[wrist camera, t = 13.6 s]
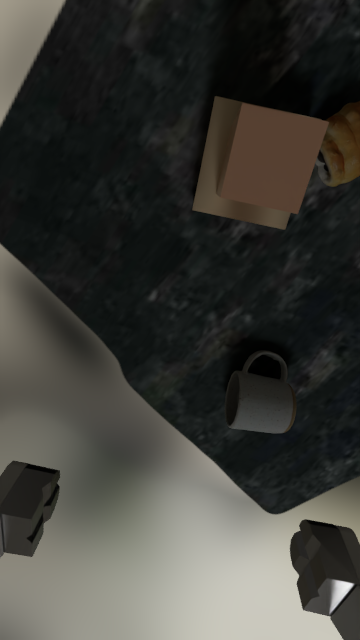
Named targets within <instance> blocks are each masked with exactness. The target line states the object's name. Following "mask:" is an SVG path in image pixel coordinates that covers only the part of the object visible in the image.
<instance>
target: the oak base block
mask: <svg viewBox="0 0 360 640" xmlns="http://www.w3.org/2000/svg"><path fill="white" fill-rule="evenodd" d="M242 103H245V102H240V101H235V100H231V99H226V98H222V97H217V96H215V99H214V104H213V109H212V114H211V119H210V124H209V129H208V134H207V139H206V144H205V149H204V154H203V159H202V164H201V169H200V174H199V179H198V184H197V189H196V194H195V199H194V204H193V209H192V210H195V211H200V212H204V213H209V214H214V215H219V216H223V217H228V218H233V219H237V220H242V221H247V222H251V223H256V224H261V225H265V226H270V227H275V228H280V229H284V230H285V228H286V225H287V222H288V219H289V216H290V212H286V211H281V210H276V209H272V208H267V207H262V206H258V205H253V204H248V203H244V202H239V201H234V200H230V199H225V198H220V197H219V196H218V195H217V194H216V192H217V187H218V183H219V179H220V174H221V170H222V165H223V161H224V156H225V152H226V148H227V143H228V139H229V134H230V130H231V126H232V124H233V122H234V120H235V117H236V115H237V113H238V111H239V109H240V107H241V105H242ZM245 104H249V103H245ZM250 105H254V104H250ZM254 106H258V105H254ZM259 107H263V106H259ZM264 108H267V107H264ZM268 109H272V108H268ZM273 110H277V109H273ZM277 111H281V110H277ZM282 112H286V111H282ZM286 113H290V112H286ZM291 114H295V113H291ZM296 115H300V114H296ZM300 116H304V115H300ZM305 117H309V116H305ZM309 118H313V117H309ZM314 119H318V118H314ZM318 120H321V119H318Z"/></svg>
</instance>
